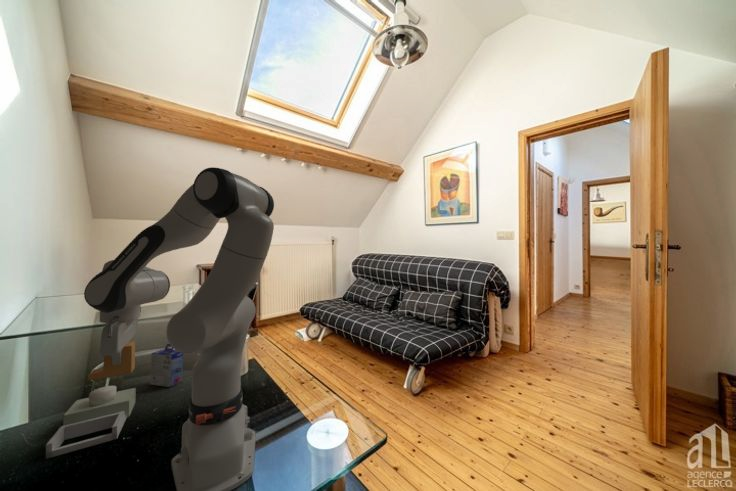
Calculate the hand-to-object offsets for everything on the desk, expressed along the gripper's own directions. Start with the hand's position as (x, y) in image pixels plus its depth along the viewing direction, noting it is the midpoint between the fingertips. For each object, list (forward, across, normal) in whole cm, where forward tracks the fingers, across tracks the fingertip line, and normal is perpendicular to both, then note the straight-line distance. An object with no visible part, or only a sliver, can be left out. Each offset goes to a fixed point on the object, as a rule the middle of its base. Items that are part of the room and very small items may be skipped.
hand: (119, 360), depth 78 cm
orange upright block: (+4, 0, +1) cm, 4 cm away
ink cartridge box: (+19, +24, -8) cm, 32 cm away
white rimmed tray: (+19, +3, +6) cm, 20 cm away
